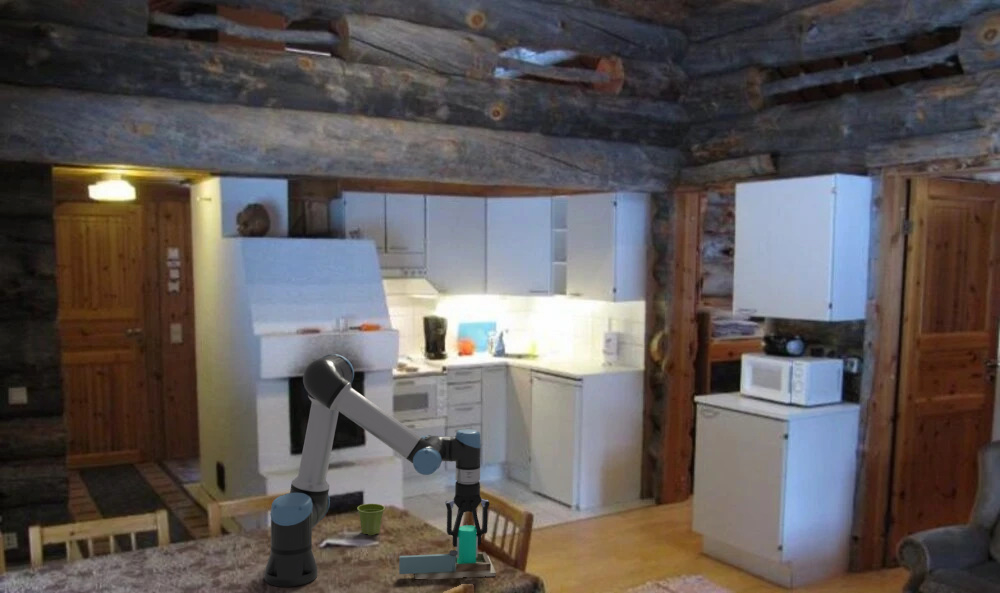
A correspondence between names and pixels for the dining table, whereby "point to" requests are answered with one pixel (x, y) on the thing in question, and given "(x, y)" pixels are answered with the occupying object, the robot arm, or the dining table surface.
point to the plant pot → (370, 518)
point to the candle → (467, 544)
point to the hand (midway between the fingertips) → (466, 556)
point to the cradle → (464, 569)
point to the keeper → (428, 563)
